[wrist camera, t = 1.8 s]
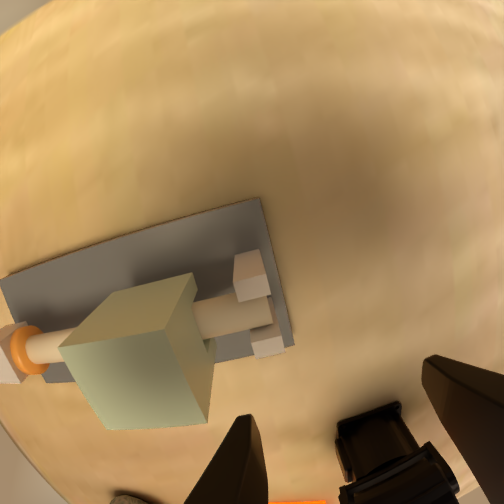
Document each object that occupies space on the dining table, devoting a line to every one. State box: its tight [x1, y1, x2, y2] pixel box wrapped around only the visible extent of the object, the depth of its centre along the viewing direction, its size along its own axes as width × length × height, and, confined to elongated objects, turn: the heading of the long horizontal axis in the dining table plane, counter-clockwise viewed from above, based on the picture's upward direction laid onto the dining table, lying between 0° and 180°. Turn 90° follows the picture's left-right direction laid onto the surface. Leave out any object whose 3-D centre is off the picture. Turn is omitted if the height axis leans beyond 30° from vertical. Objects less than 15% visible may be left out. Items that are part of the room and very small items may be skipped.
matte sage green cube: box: [57, 272, 217, 430], centre depth 13 cm, size 5×5×6 cm
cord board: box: [0, 197, 295, 383], centre depth 17 cm, size 22×10×7 cm, turn 104°
